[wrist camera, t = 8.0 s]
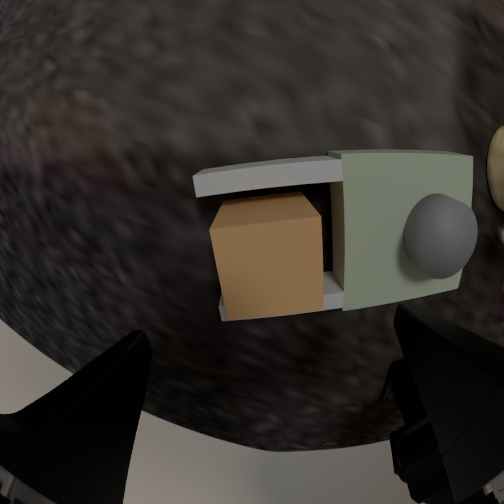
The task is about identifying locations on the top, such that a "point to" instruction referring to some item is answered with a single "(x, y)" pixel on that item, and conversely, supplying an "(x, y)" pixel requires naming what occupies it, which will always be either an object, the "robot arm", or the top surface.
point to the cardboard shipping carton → (269, 255)
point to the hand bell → (496, 168)
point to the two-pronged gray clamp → (376, 219)
